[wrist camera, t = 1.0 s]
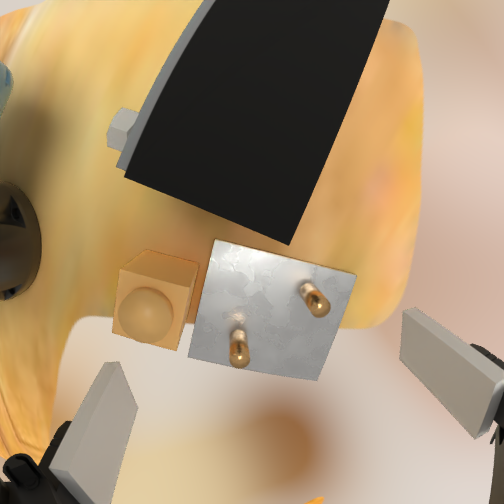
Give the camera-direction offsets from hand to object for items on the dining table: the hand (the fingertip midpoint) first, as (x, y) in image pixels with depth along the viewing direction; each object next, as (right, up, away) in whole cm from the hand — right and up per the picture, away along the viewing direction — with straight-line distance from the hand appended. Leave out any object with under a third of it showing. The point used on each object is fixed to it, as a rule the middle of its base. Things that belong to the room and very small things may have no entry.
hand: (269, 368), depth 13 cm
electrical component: (-1, +19, +18) cm, 26 cm away
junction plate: (+1, -2, +22) cm, 22 cm away
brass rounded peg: (+5, +1, +21) cm, 22 cm away
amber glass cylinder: (-2, -4, +22) cm, 22 cm away
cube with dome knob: (-10, +2, +20) cm, 23 cm away
